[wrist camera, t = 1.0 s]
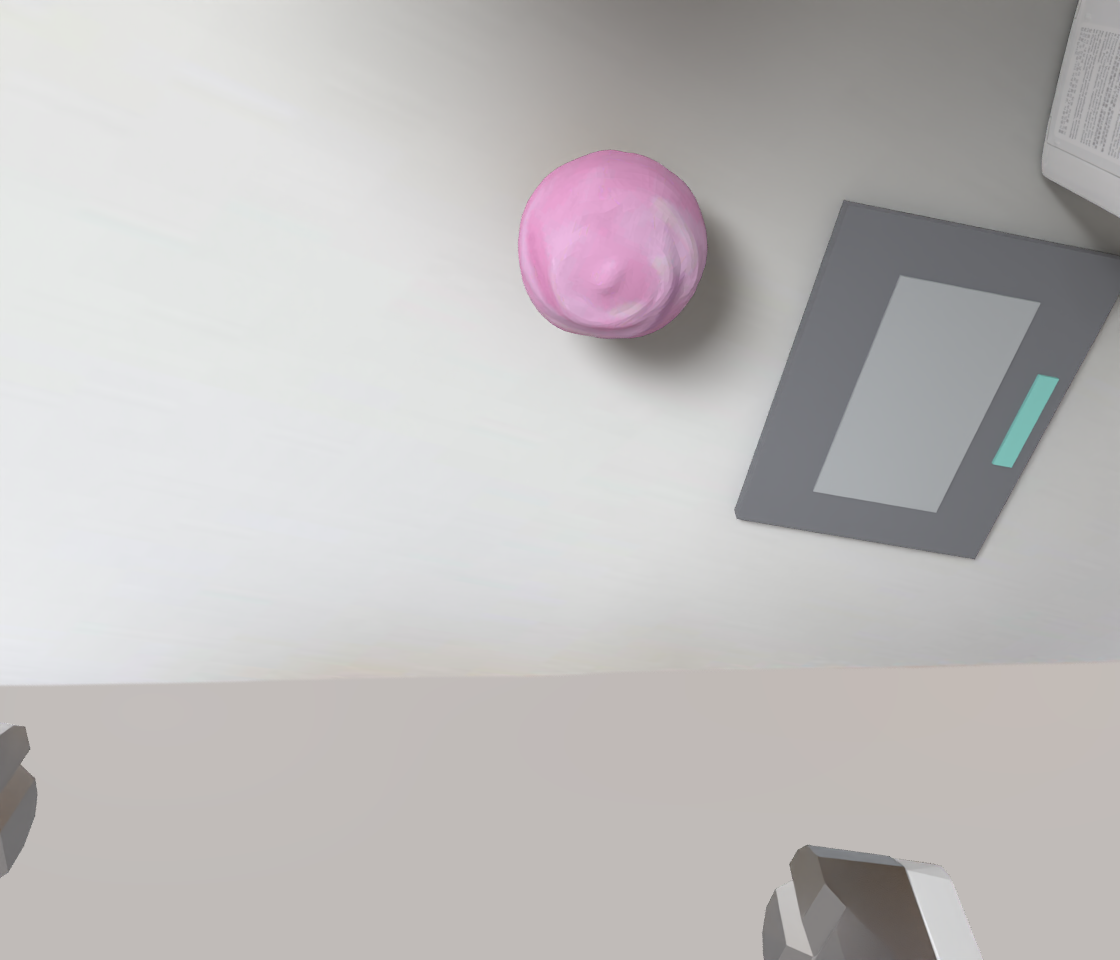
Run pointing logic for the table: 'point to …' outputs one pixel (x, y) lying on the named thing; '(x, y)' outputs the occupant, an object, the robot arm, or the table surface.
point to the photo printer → (1088, 109)
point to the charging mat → (923, 379)
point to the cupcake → (611, 245)
